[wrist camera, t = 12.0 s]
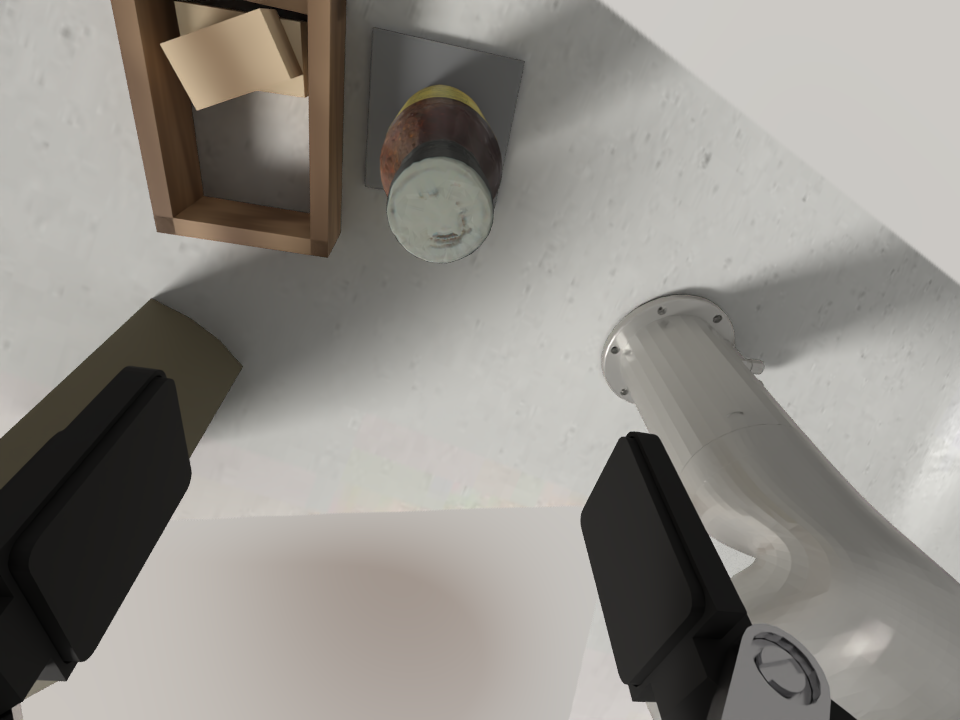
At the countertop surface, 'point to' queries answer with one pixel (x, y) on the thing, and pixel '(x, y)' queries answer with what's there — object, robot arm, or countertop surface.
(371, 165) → the mat
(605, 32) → the countertop surface
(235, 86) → the offcut top
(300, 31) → the offcut low
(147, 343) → the book
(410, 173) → the sauce bottle
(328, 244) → the tray
